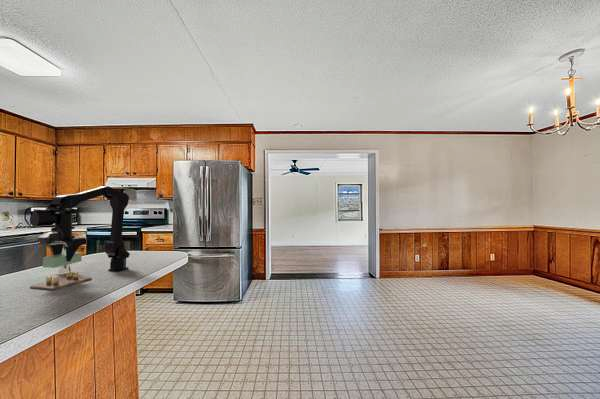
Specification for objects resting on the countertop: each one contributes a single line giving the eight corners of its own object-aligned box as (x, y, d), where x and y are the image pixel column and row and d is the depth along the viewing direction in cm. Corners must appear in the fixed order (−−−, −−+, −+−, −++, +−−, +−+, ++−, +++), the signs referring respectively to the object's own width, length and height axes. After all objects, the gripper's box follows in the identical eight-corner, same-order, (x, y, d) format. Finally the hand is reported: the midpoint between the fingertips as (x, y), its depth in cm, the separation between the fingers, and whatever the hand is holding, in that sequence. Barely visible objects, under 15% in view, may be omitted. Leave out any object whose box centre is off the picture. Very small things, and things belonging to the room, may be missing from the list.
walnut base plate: (70, 277, 128) (70, 269, 128) (91, 279, 125) (91, 271, 125) (30, 288, 112) (30, 278, 112) (53, 290, 110) (53, 281, 110)
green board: (70, 260, 125) (70, 251, 125) (81, 261, 124) (81, 252, 124) (42, 267, 113) (42, 257, 113) (54, 267, 112) (54, 257, 112)
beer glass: (77, 271, 138) (78, 241, 138) (64, 275, 131) (65, 243, 131) (65, 271, 139) (65, 241, 139) (51, 274, 132) (51, 243, 132)
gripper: (24, 225, 113) (24, 263, 113) (60, 227, 109) (60, 266, 109) (54, 223, 124) (54, 258, 124) (87, 224, 120) (87, 260, 120)
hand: (63, 261), depth 119 cm, fingers closed on green board, 6 cm apart
